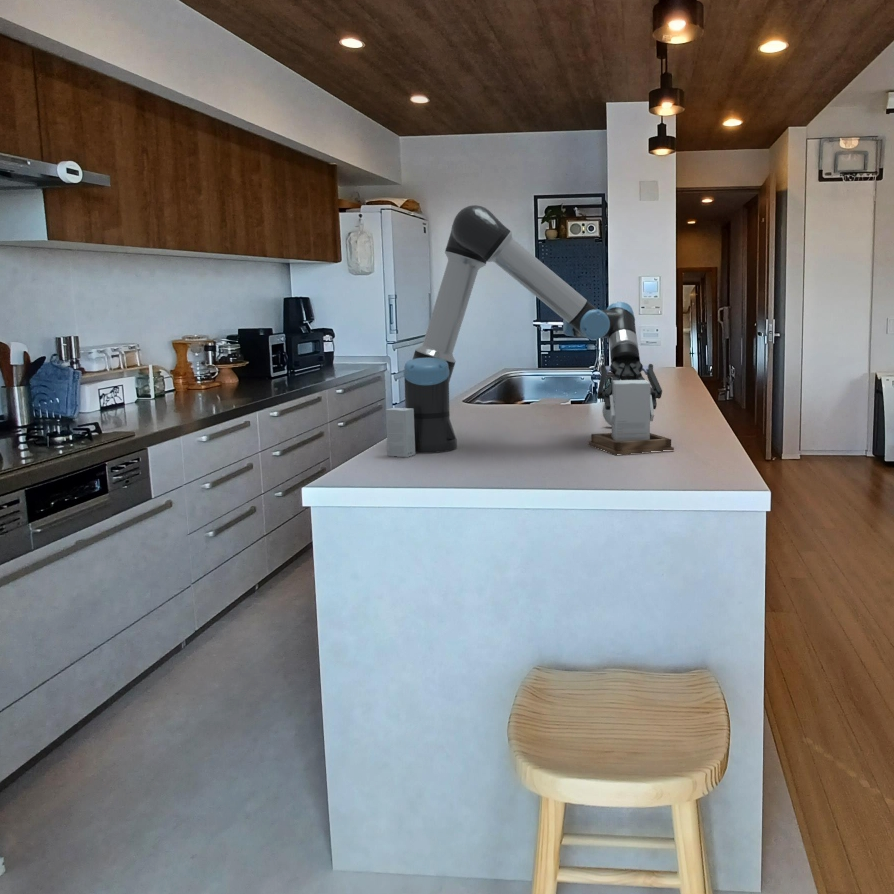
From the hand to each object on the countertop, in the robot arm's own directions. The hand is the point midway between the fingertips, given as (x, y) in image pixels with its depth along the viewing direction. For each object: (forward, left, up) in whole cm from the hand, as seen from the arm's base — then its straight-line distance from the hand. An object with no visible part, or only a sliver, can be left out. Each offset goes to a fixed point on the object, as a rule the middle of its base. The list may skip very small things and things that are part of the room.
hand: (632, 418), depth 218 cm
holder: (+1, +3, -8) cm, 9 cm away
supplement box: (+1, +3, -6) cm, 7 cm away
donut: (+14, +36, -8) cm, 40 cm away
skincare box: (-57, +14, -8) cm, 59 cm away
